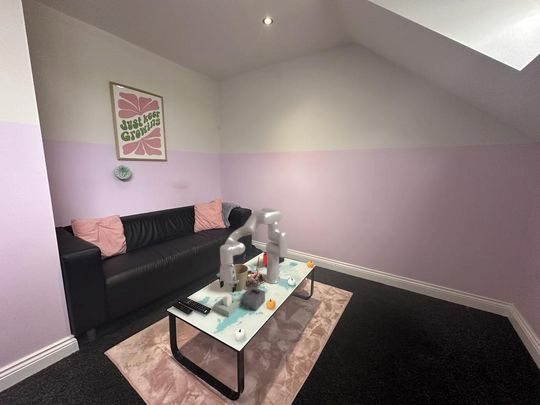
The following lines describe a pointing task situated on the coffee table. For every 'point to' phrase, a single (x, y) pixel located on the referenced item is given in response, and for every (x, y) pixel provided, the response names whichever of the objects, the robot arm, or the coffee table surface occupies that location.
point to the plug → (227, 300)
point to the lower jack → (227, 310)
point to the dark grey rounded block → (253, 298)
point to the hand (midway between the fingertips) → (228, 289)
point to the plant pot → (241, 276)
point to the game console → (266, 259)
